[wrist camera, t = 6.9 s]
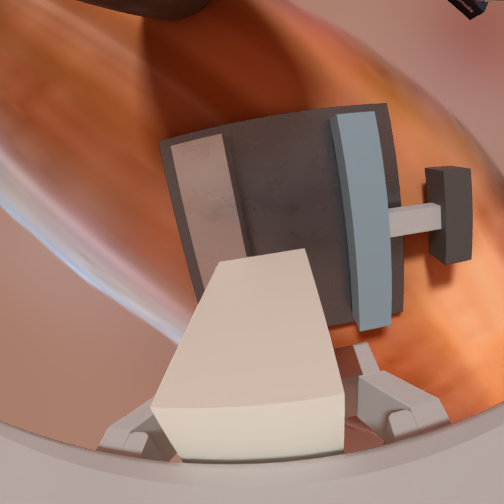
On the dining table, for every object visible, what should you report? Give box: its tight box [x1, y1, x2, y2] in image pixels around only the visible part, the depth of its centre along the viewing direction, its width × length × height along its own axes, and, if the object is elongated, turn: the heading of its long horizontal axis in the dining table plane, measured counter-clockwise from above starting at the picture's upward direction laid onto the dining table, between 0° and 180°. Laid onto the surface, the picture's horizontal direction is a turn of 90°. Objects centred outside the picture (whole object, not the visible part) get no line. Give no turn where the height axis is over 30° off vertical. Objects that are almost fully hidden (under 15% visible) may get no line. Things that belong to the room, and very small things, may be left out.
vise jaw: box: [329, 111, 473, 331], centre depth 23 cm, size 11×18×3 cm, turn 11°
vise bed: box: [159, 103, 404, 326], centre depth 25 cm, size 20×20×4 cm
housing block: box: [150, 248, 345, 464], centre depth 9 cm, size 4×6×8 cm, turn 11°
